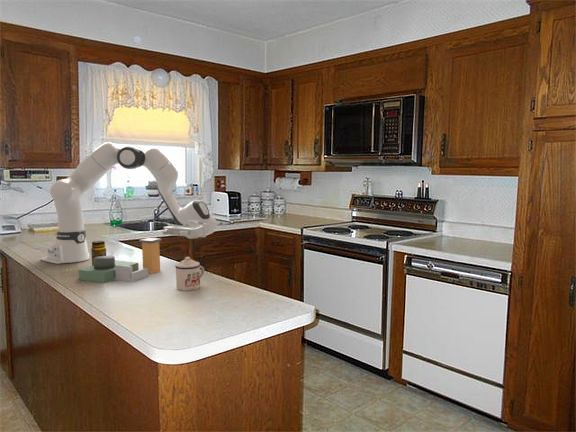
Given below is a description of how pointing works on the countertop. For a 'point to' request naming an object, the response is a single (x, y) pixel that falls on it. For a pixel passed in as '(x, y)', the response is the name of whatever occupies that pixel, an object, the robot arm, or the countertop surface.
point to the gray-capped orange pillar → (151, 254)
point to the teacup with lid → (188, 274)
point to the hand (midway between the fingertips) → (171, 233)
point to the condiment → (98, 249)
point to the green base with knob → (112, 270)
